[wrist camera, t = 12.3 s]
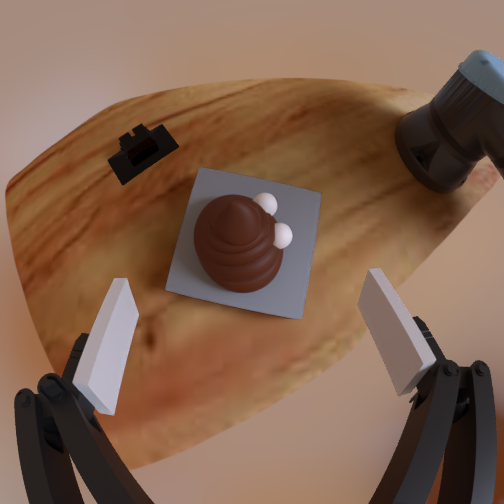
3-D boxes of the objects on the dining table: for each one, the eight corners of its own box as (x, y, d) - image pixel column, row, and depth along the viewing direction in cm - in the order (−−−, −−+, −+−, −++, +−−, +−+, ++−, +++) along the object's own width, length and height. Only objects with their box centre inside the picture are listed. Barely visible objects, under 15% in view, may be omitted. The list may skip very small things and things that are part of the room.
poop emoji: (183, 218, 29) (162, 177, 19) (257, 188, 30) (266, 139, 21) (220, 307, 27) (212, 305, 18) (298, 272, 28) (327, 254, 19)
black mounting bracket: (169, 118, 36) (163, 98, 32) (194, 148, 36) (190, 128, 31) (99, 164, 34) (86, 148, 30) (118, 199, 33) (104, 185, 29)
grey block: (312, 206, 34) (321, 193, 30) (293, 318, 31) (301, 320, 27) (203, 182, 34) (199, 166, 30) (173, 292, 31) (164, 290, 27)
